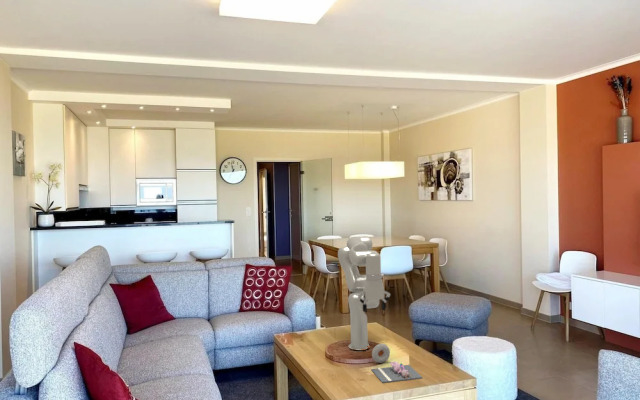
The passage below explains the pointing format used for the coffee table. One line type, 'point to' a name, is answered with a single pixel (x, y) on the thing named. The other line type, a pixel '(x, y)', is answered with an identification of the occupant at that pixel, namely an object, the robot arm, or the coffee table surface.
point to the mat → (394, 374)
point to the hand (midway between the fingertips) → (374, 310)
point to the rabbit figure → (400, 369)
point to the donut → (376, 350)
